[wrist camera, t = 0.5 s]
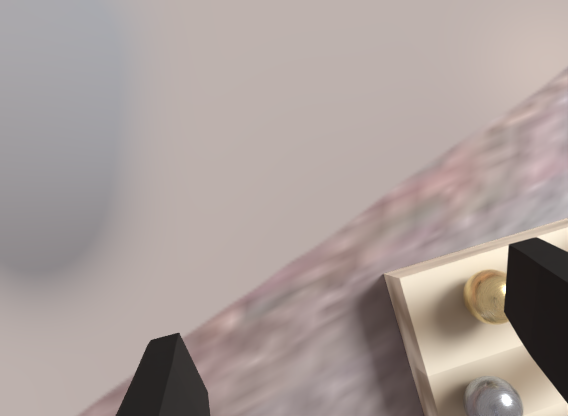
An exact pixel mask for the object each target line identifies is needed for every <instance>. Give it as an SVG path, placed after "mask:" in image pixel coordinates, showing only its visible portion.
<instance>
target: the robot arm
mask: <svg viewBox="0 0 568 416" xmlns="http://www.w3.org/2000/svg"><path fill="white" fill-rule="evenodd" d="M504 313H505V315H506V317H507V318H508V320H509V322H510V323H511V325H512V327H513V329H514V330H515V332H516V334H517V335H518V337H519V339H520V340H521V342H522V343H523V345H524V347H525V348H526V350H527V351H528V353H529V354H530V356H531V357H532V358H533V360H534V361H535V362H536V364H537V365H538V366H539V368H540V369H541V370H542V371H543V373H544V374H545V375H546V377H547V378H548V379H549V381H550V382H551V383H552V384H553V386H554V387H555V388H556V389H557V391H558V392H559V393H560V395H561V396H562V397H563V398H564V400H565V401H566V402H567V403H568V252H567V251H565V250H563V249H561V248H559V247H557V246H555V245H552V244H550V243H548V242H546V241H544V240H542V239H540V238H537V237H534V238H531V239H527V240H523V241H519V242H516V243H512V244H509V247H508V261H507V274H506V288H505V302H504ZM116 416H210V409H209V399H208V392H207V390H206V387H205V385H204V383H203V381H202V379H201V377H200V375H199V373H198V371H197V369H196V367H195V365H194V363H193V360H192V358H191V356H190V354H189V352H188V350H187V348H186V346H185V344H184V342H183V340H182V338H181V336H180V333H176V334H172V335H168V336H165V337H161V338H157V339H153V340H151V341H150V342H149V344H148V346H147V348H146V350H145V352H144V354H143V357H142V359H141V361H140V364H139V366H138V368H137V371H136V373H135V375H134V377H133V380H132V382H131V384H130V386H129V388H128V391H127V393H126V395H125V397H124V399H123V401H122V404H121V406H120V408H119V410H118V412H117V414H116Z"/></svg>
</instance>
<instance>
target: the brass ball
mask: <svg viewBox="0 0 568 416" xmlns="http://www.w3.org/2000/svg"><path fill="white" fill-rule="evenodd" d="M506 274H507V273H505V272H503V271H500V270H495V269H486V270H482V271H479V272H477V273H475V274H474V275H472V276H471V277H470V278H469V279H468V281H467V282H466V284H465V287H464V291H463V299H464V303H465V306H466V308H467V310H468V311H469V312H470V314H471V315H472V316H473V317H475V318H476V319H477V320H479V321H481V322H483V323H486V324H491V325H500V324H504V323H507V322H509V320H508V318H507V317H506V315H505V313H504V302H505V288H506Z"/></svg>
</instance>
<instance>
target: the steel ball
mask: <svg viewBox="0 0 568 416" xmlns="http://www.w3.org/2000/svg"><path fill="white" fill-rule="evenodd" d="M463 407H464V410H465V413H466V415H467V416H523V411H524V409H523V403H522V400H521V397H520V395H519V393H518V392H517V390H516V389H515V388H514V387H513V386H512V385H511V384H510V383H508V382H507V381H505V380H504V379H501V378H499V377H495V376H482V377H479V378H476V379H474V380H473V381H472V382H471V383H470V384H469V385H468V386H467V388H466V389H465V392H464V395H463Z"/></svg>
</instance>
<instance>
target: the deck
mask: <svg viewBox="0 0 568 416" xmlns="http://www.w3.org/2000/svg"><path fill="white" fill-rule="evenodd" d="M534 237H537V238H540V239H542V240H544V241H546V242H548V243H550V244H552V245H555V246H557V247H559V248H561V249H563V250H565V251H567V252H568V218H566V219H563V220H559V221H556V222H553V223H549V224H546V225H543V226H540V227H536V228H533V229H530V230H526V231H523V232H520V233H516V234H513V235H510V236H506V237H503V238H500V239H497V240H493V241H490V242H487V243H483V244H480V245H477V246H473V247H470V248H467V249H464V250H460V251H457V252H454V253H450V254H447V255H444V256H440V257H437V258H434V259H430V260H427V261H424V262H421V263H417V264H414V265H411V266H407V267H404V268H401V269H397V270H394V271H391V272H388V273H384V277H385V281H386V284H387V287H388V291H389V294H390V298H391V301H392V305H393V308H394V312H395V315H396V319H397V322H398V326H399V329H400V333H401V336H402V340H403V343H404V347H405V350H406V354H407V357H408V361H409V364H410V368H411V371H412V374H413V378H414V381H415V385H416V388H417V392H418V395H419V399H420V402H421V406H422V409H423V413H424V416H467V415H466V413H465V410H464V407H463V395H464V392H465V389H466V388H467V386H468V385H469V384H470V383H471V382H472V381H473V380H474V379H476V378H479V377H482V376H495V377H499V378H501V379H504V380H505V381H507V382H508V383H510V384H511V385H512V386H513V387H514V388H515V389H516V390H517V392H518V393H519V395H520V397H521V400H522V403H523V409H524V411H523V416H568V403H567V402H566V401H565V400H564V398H563V397H562V396H561V395H560V393H559V392H558V391H557V389H556V388H555V387H554V386H553V384H552V383H551V382H550V381H549V379H548V378H547V377H546V375H545V374H544V373H543V371H542V370H541V369H540V368H539V366H538V365H537V364H536V362H535V361H534V360H533V358H532V357H531V356H530V354H529V353H528V351H527V350H526V348H525V347H524V345H523V343H522V342H521V340H520V339H519V337H518V335H517V334H516V332H515V330H514V329H513V327H512V325H511V323H510V322H507V323H504V324H500V325H491V324H486V323H483V322H481V321H479V320H477V319H476V318H475V317H473V316H472V315H471V314H470V312H469V311H468V310H467V308H466V306H465V303H464V299H463V291H464V287H465V284H466V282H467V281H468V279H469V278H470V277H471V276H472V275H474V274H475V273H477V272H479V271H482V270H486V269H495V270H500V271H503V272H505V273H507V261H508V247H509V244H512V243H516V242H519V241H523V240H527V239H531V238H534Z"/></svg>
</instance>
